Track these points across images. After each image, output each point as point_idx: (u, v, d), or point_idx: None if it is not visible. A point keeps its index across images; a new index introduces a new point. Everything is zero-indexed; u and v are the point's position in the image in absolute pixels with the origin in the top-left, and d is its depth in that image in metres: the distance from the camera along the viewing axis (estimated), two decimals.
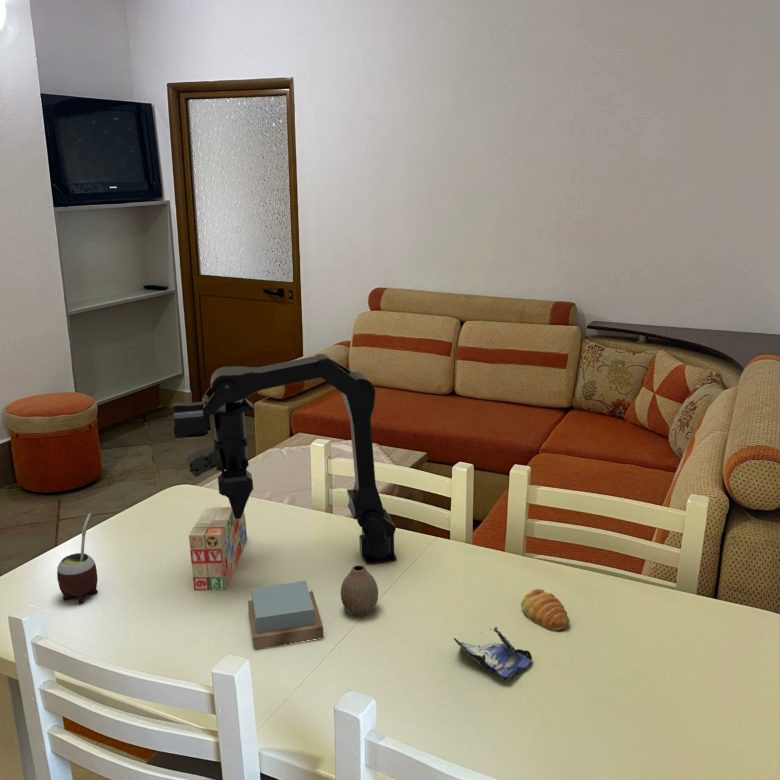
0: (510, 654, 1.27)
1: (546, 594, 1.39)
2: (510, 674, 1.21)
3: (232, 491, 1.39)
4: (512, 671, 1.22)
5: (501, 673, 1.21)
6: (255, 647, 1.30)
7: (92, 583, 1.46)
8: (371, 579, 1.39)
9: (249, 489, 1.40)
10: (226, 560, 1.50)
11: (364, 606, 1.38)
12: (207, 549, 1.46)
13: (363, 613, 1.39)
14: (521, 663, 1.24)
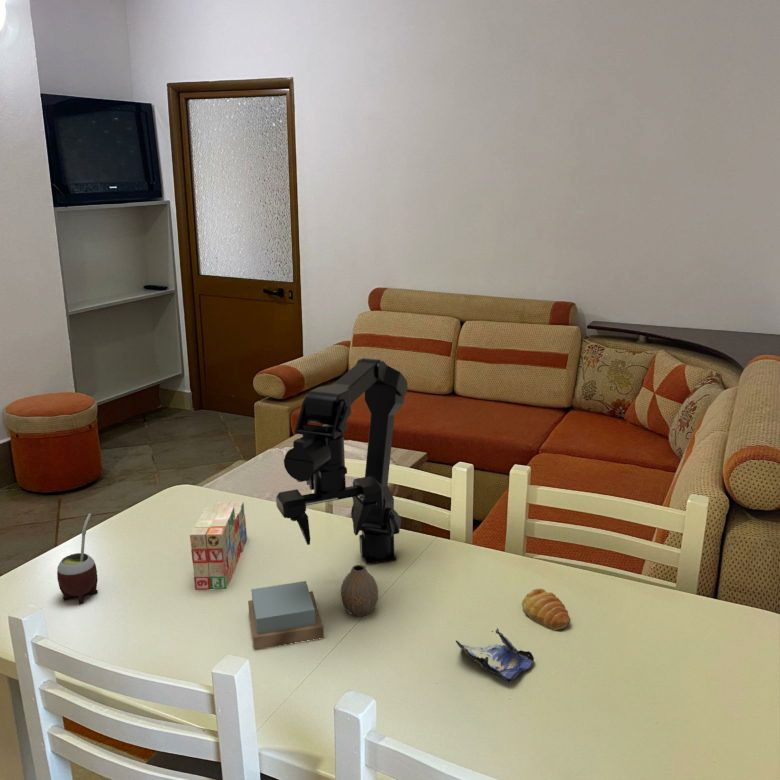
0: (512, 656, 1.27)
1: (547, 593, 1.39)
2: (513, 676, 1.21)
3: (279, 508, 1.35)
4: (515, 672, 1.22)
5: (505, 675, 1.21)
6: (255, 647, 1.30)
7: (92, 583, 1.46)
8: (371, 579, 1.39)
9: (283, 515, 1.32)
10: (227, 559, 1.51)
11: (364, 606, 1.38)
12: (208, 549, 1.47)
13: (363, 613, 1.39)
14: (523, 664, 1.24)
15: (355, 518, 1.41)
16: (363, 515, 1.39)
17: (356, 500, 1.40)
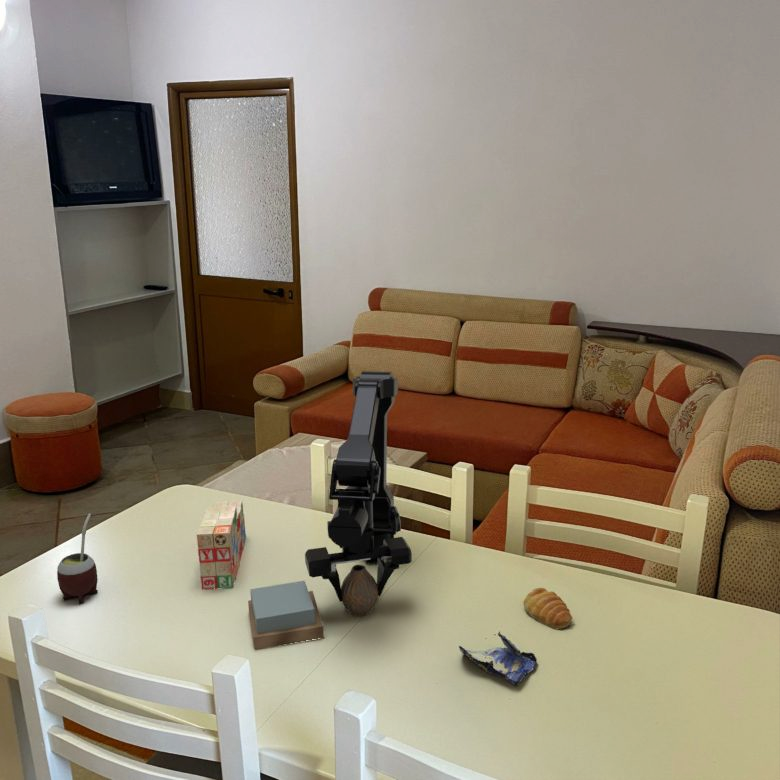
0: (514, 658, 1.26)
1: (548, 592, 1.40)
2: (519, 678, 1.20)
3: (306, 565, 1.37)
4: (520, 675, 1.21)
5: (511, 678, 1.20)
6: (255, 647, 1.30)
7: (92, 583, 1.46)
8: (371, 579, 1.39)
9: (309, 574, 1.34)
10: (233, 558, 1.51)
11: (364, 606, 1.38)
12: (215, 548, 1.47)
13: (363, 613, 1.39)
14: (527, 666, 1.24)
15: (378, 579, 1.41)
16: (385, 578, 1.38)
17: (380, 561, 1.40)
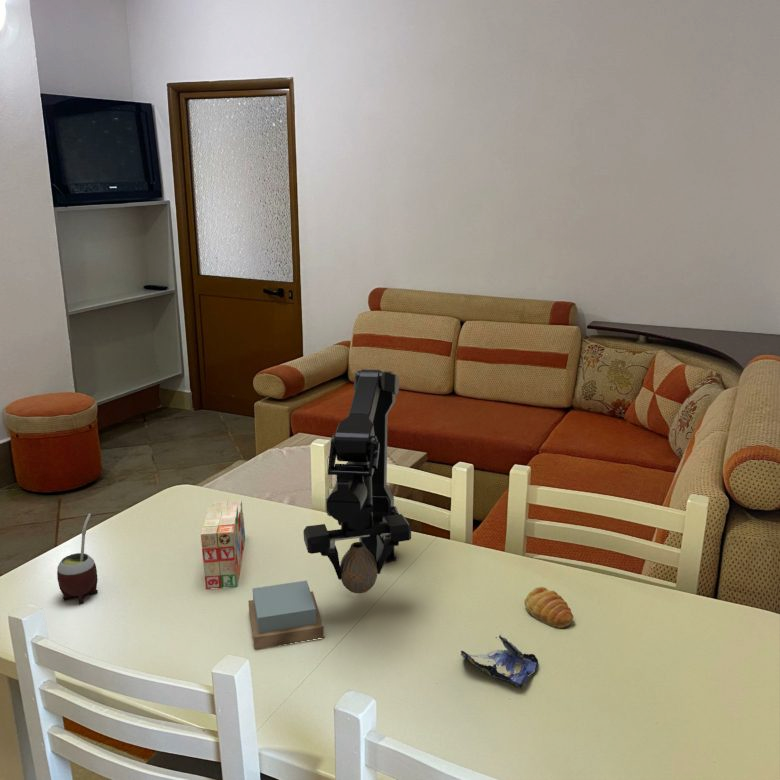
0: (515, 660, 1.26)
1: (549, 592, 1.40)
2: (523, 680, 1.20)
3: (305, 542, 1.36)
4: (524, 677, 1.21)
5: (515, 680, 1.19)
6: (255, 647, 1.30)
7: (92, 583, 1.46)
8: (370, 556, 1.38)
9: (307, 550, 1.33)
10: (236, 557, 1.51)
11: (364, 583, 1.36)
12: (219, 547, 1.47)
13: (362, 590, 1.37)
14: (529, 668, 1.23)
15: (377, 557, 1.39)
16: (384, 555, 1.37)
17: (379, 539, 1.39)
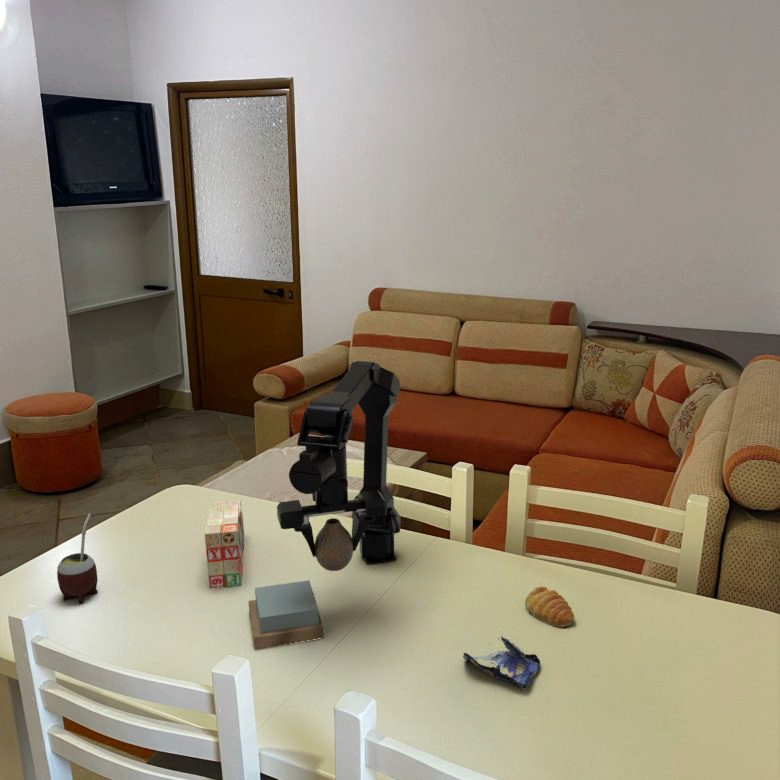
0: (517, 661, 1.25)
1: (549, 591, 1.40)
2: (527, 681, 1.20)
3: (278, 518, 1.33)
4: (527, 677, 1.20)
5: (518, 681, 1.19)
6: (256, 647, 1.30)
7: (92, 583, 1.46)
8: (346, 533, 1.35)
9: None
10: (239, 556, 1.52)
11: (339, 560, 1.33)
12: (223, 546, 1.47)
13: (337, 568, 1.34)
14: (531, 668, 1.23)
15: (353, 533, 1.36)
16: (360, 531, 1.34)
17: (354, 515, 1.36)
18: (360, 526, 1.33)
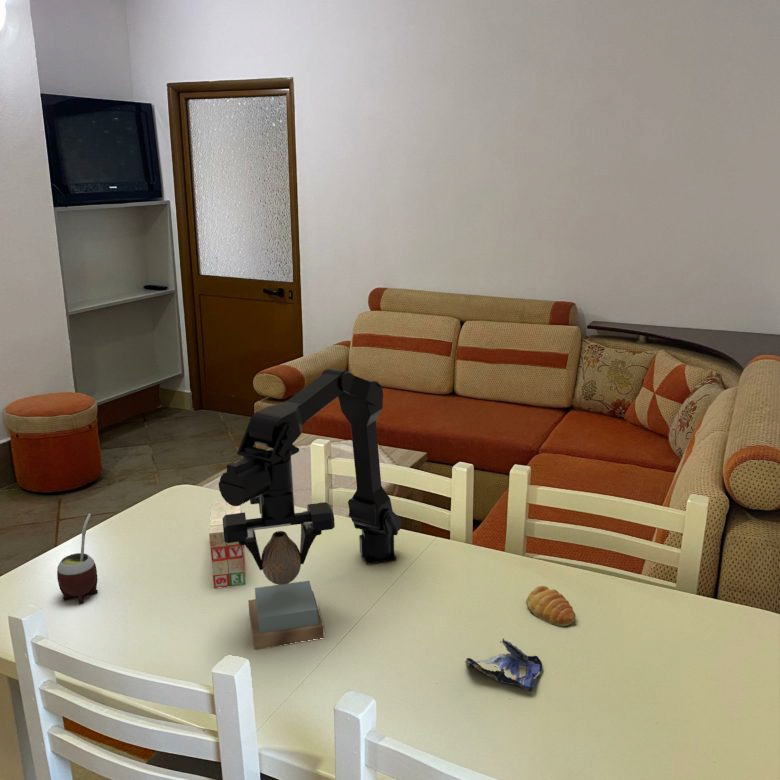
0: (518, 663, 1.25)
1: (550, 590, 1.40)
2: (531, 683, 1.19)
3: None
4: (531, 679, 1.20)
5: (523, 684, 1.18)
6: (255, 647, 1.30)
7: (92, 583, 1.46)
8: (292, 546, 1.32)
9: (224, 539, 1.27)
10: None
11: (285, 574, 1.31)
12: (227, 546, 1.48)
13: (284, 581, 1.32)
14: (533, 670, 1.23)
15: (301, 546, 1.34)
16: (307, 544, 1.32)
17: (302, 528, 1.33)
18: (307, 539, 1.31)
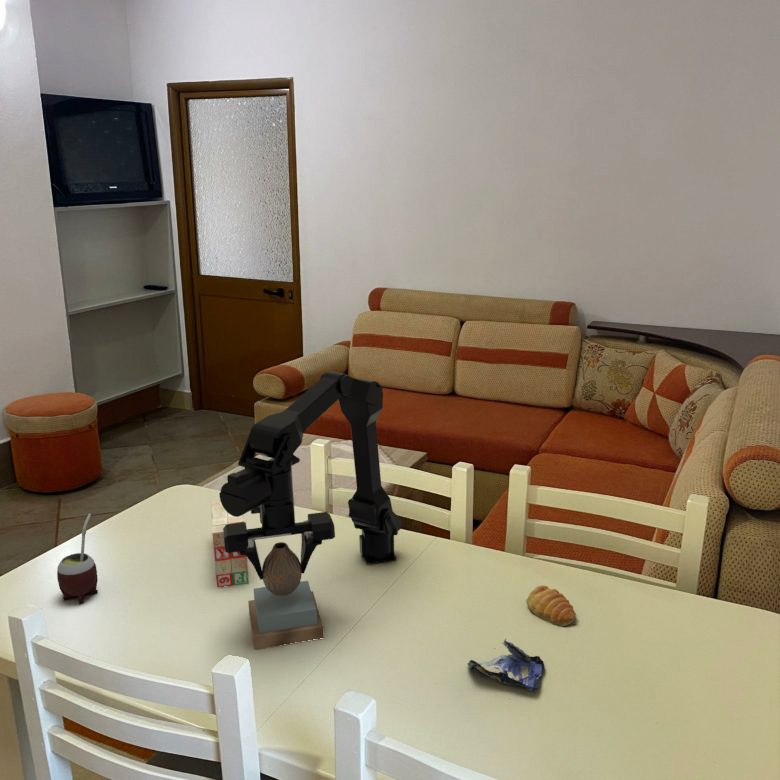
0: (520, 664, 1.25)
1: (551, 590, 1.40)
2: (535, 683, 1.19)
3: None
4: (534, 680, 1.20)
5: (527, 685, 1.18)
6: (255, 647, 1.30)
7: (92, 583, 1.46)
8: (293, 557, 1.33)
9: (225, 549, 1.28)
10: None
11: (285, 585, 1.31)
12: None
13: (284, 593, 1.32)
14: (536, 670, 1.23)
15: (301, 556, 1.34)
16: (307, 554, 1.32)
17: (303, 537, 1.34)
18: (307, 549, 1.31)
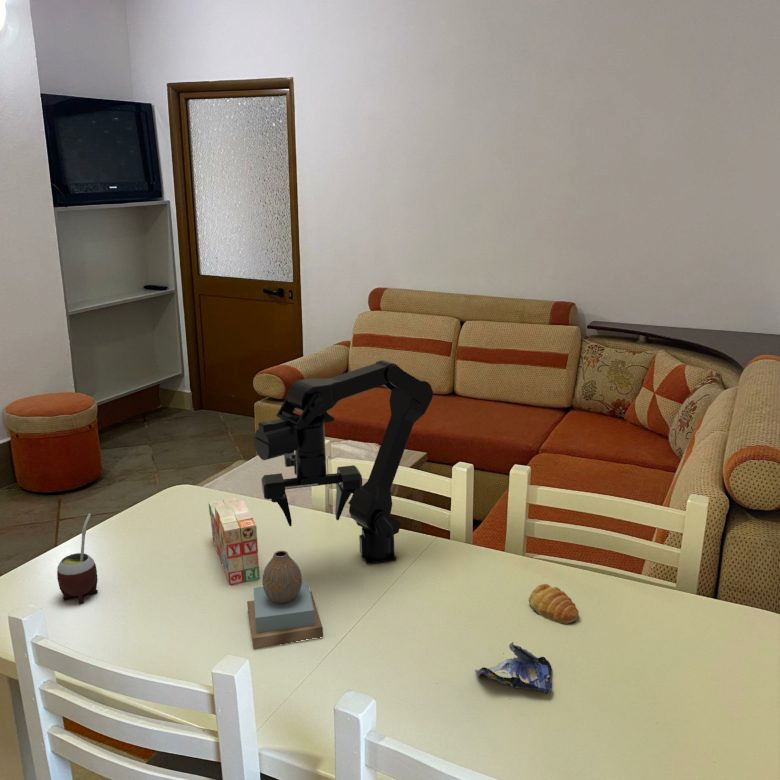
0: (526, 666, 1.24)
1: (552, 588, 1.41)
2: (546, 685, 1.19)
3: None
4: (545, 681, 1.19)
5: (540, 687, 1.18)
6: (255, 648, 1.30)
7: (92, 583, 1.46)
8: (293, 566, 1.34)
9: (264, 496, 1.42)
10: None
11: (284, 594, 1.32)
12: (243, 542, 1.49)
13: (283, 601, 1.33)
14: (543, 671, 1.22)
15: (336, 504, 1.49)
16: (342, 501, 1.47)
17: (338, 487, 1.48)
18: (342, 497, 1.46)
